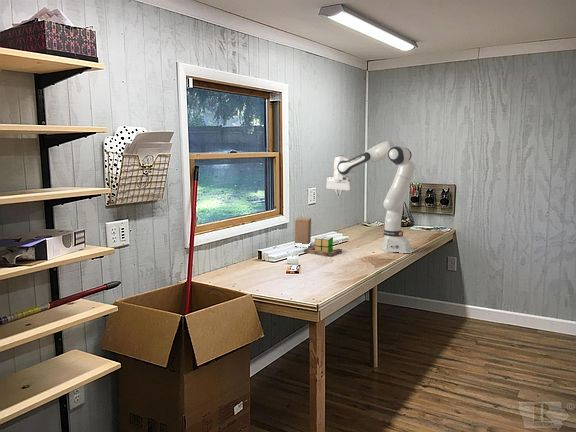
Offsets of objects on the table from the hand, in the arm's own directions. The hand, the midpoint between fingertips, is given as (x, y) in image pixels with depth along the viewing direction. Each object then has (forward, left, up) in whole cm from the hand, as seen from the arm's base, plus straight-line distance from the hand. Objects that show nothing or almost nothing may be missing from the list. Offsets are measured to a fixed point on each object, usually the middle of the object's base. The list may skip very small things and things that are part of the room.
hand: (338, 195), depth 375 cm
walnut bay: (-10, +41, -34) cm, 55 cm away
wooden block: (+11, +33, -34) cm, 49 cm away
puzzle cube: (-10, +40, -34) cm, 54 cm away
